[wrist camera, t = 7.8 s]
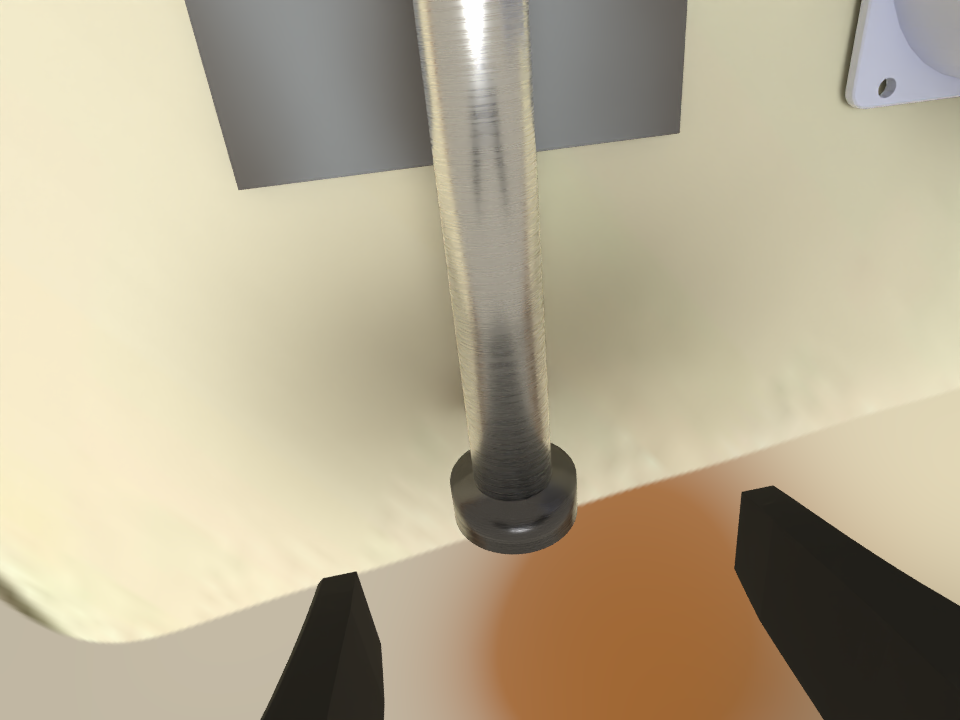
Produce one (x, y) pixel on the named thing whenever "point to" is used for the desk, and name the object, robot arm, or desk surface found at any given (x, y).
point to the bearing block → (419, 80)
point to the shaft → (494, 270)
